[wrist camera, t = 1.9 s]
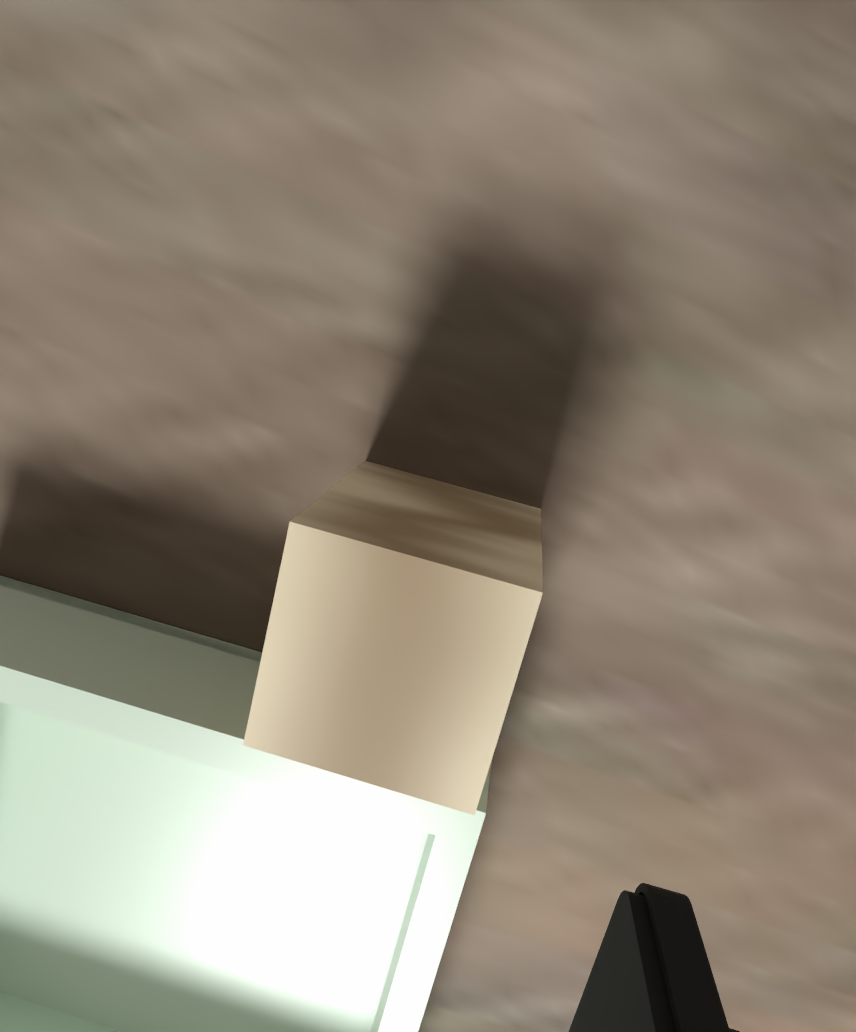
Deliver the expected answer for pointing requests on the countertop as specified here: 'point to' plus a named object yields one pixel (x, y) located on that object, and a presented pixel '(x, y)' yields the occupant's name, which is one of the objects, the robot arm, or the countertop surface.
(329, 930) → the bin
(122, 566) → the countertop surface
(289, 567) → the beech block
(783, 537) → the countertop surface
